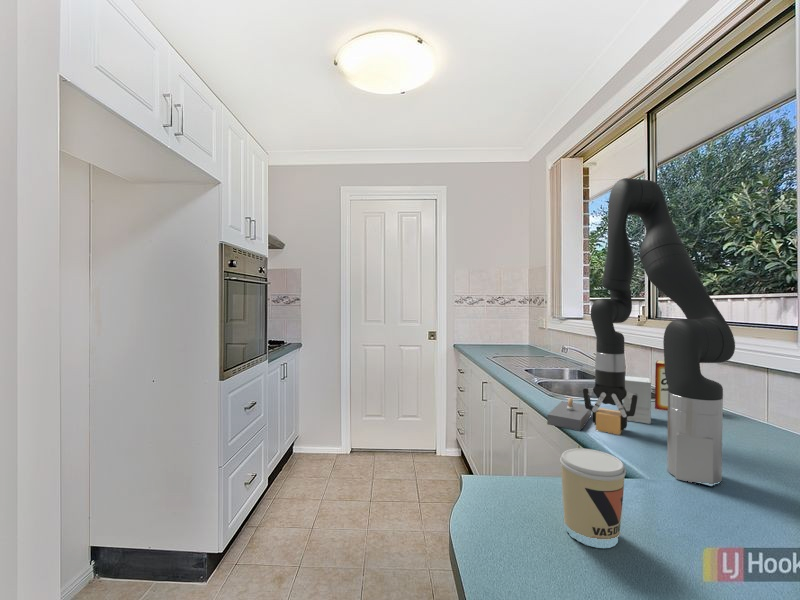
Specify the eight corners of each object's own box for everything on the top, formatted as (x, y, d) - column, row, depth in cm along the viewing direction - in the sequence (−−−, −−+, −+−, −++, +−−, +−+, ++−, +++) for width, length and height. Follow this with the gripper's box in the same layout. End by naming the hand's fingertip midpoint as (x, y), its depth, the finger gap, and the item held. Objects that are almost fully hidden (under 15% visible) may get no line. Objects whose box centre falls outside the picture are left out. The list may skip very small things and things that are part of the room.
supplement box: (650, 418, 120) (651, 377, 120) (651, 424, 114) (651, 382, 114) (623, 414, 124) (623, 375, 124) (622, 420, 118) (622, 379, 118)
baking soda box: (655, 408, 130) (655, 361, 130) (656, 404, 135) (657, 359, 135) (689, 414, 124) (690, 365, 124) (690, 409, 129) (690, 362, 129)
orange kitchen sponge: (620, 435, 105) (620, 416, 105) (595, 430, 108) (595, 412, 108) (622, 428, 110) (622, 411, 110) (599, 424, 113) (599, 408, 113)
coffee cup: (595, 560, 55) (596, 477, 55) (546, 524, 64) (547, 452, 63) (638, 543, 59) (639, 466, 59) (587, 512, 67) (588, 444, 67)
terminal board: (580, 430, 108) (580, 407, 108) (547, 424, 113) (547, 402, 113) (591, 414, 123) (591, 394, 123) (562, 409, 128) (562, 390, 128)
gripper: (579, 367, 110) (579, 425, 110) (638, 373, 102) (637, 436, 102) (584, 363, 116) (584, 418, 116) (640, 369, 108) (640, 428, 108)
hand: (609, 426), depth 109 cm, fingers closed on orange kitchen sponge, 6 cm apart
